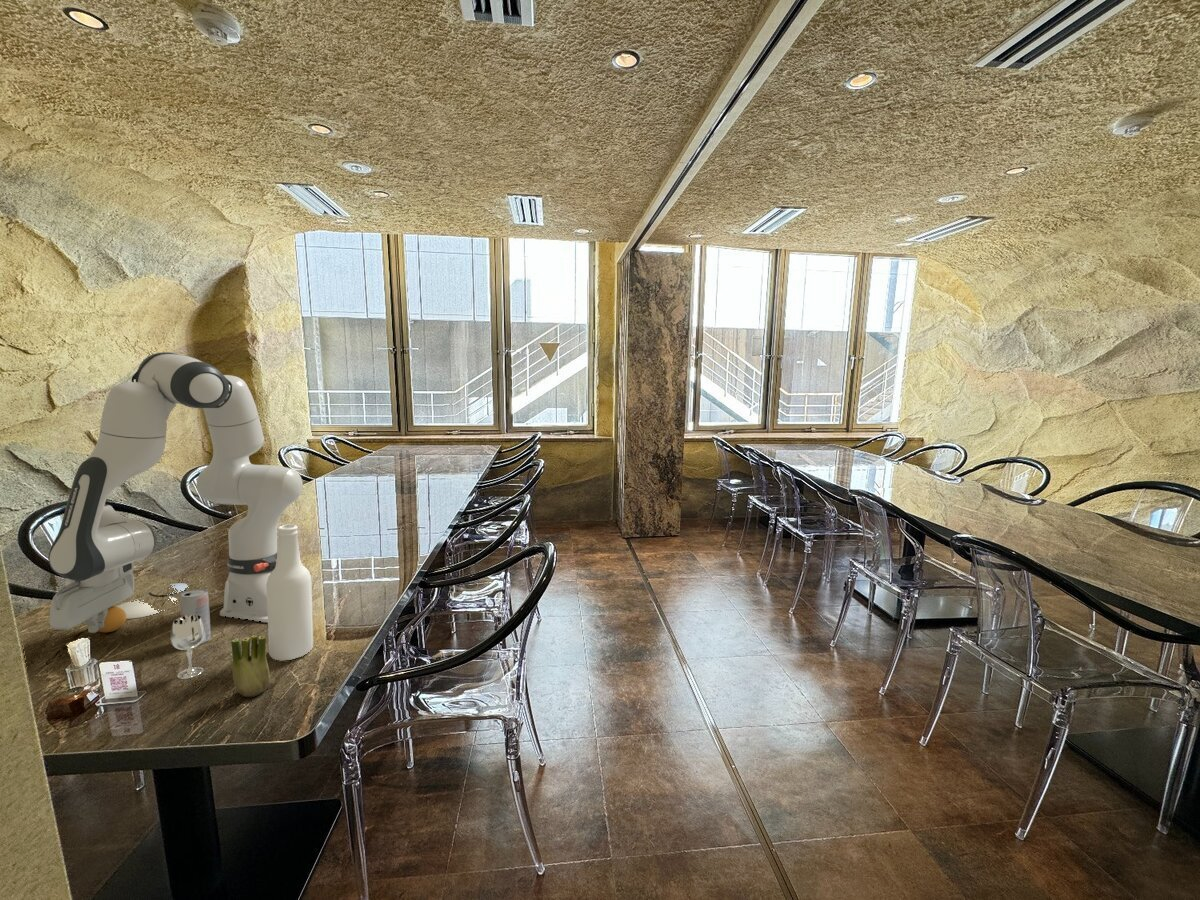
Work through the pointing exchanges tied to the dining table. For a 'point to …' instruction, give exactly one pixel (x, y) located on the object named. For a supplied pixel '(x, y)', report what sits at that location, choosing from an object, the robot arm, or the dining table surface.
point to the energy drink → (197, 607)
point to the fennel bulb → (250, 666)
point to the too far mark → (179, 587)
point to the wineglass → (188, 640)
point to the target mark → (139, 609)
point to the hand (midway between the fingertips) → (96, 630)
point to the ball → (114, 619)
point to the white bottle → (289, 600)
